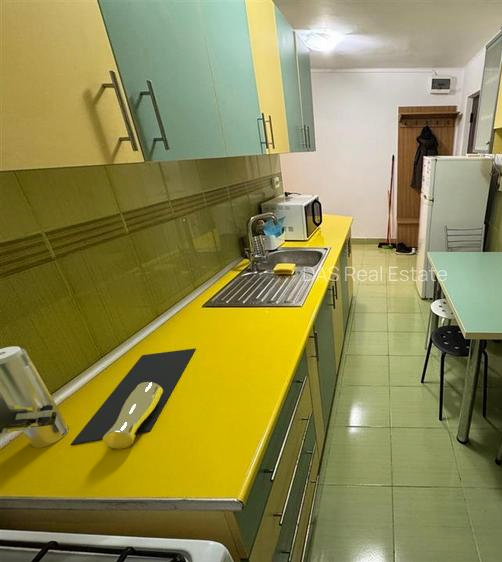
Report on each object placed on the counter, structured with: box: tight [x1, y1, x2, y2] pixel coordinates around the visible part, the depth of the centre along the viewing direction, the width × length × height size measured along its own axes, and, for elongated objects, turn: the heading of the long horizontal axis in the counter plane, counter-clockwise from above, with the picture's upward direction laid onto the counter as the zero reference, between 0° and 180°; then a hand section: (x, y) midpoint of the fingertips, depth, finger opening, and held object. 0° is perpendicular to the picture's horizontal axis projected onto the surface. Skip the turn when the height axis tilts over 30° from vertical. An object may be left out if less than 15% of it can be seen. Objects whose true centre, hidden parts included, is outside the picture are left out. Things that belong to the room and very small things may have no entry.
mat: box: [70, 347, 197, 446], centre depth 90 cm, size 17×36×1 cm, turn 13°
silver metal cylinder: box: [0, 346, 70, 449], centre depth 70 cm, size 6×6×25 cm
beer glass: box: [102, 382, 163, 450], centre depth 77 cm, size 7×7×15 cm
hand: (50, 418), depth 55 cm, fingers closed
